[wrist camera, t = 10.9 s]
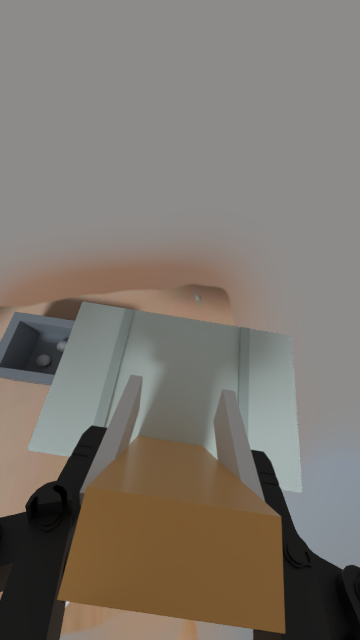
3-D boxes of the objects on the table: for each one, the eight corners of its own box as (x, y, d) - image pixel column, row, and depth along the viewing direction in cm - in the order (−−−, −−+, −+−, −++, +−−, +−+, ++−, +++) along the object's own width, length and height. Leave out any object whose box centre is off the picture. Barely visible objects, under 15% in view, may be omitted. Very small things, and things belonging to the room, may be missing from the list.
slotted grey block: (38, 446, 17) (-306, 545, 5) (87, 308, 22) (-12, 173, 9) (290, 485, 17) (627, 684, 5) (283, 340, 22) (438, 249, 10)
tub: (14, 380, 44) (-16, 374, 36) (37, 326, 48) (14, 311, 41) (111, 394, 44) (101, 391, 37) (124, 339, 49) (118, 327, 42)
